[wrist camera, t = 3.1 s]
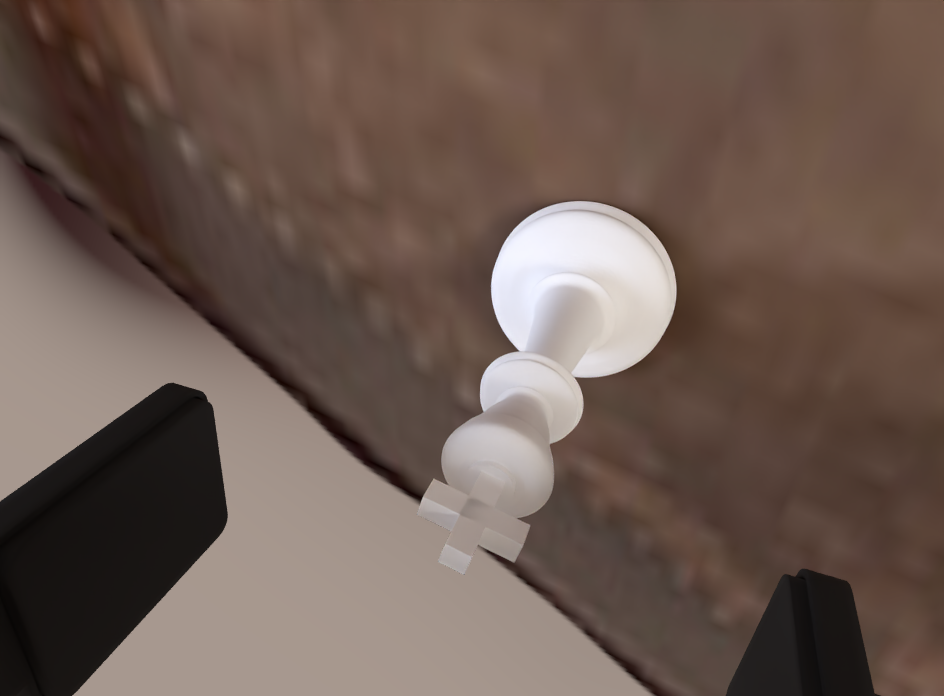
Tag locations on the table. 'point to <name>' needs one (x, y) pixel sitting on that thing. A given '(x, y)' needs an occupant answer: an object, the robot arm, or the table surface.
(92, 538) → the robot arm
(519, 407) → the chess piece
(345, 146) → the table surface
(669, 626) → the table surface
